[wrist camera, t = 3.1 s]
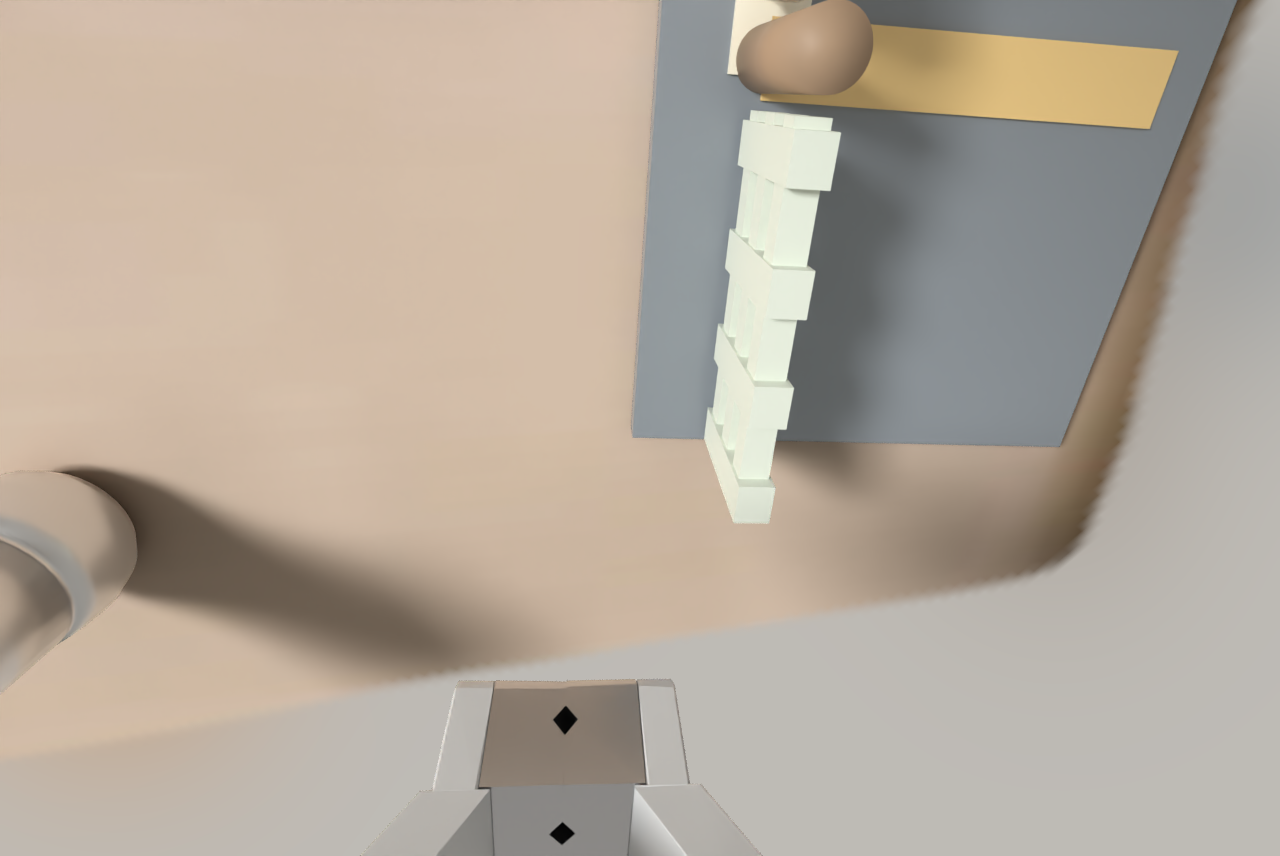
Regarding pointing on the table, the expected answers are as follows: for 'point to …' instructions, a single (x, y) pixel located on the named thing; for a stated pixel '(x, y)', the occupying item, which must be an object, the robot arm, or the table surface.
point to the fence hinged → (765, 300)
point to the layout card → (924, 210)
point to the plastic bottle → (56, 562)
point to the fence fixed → (807, 50)
